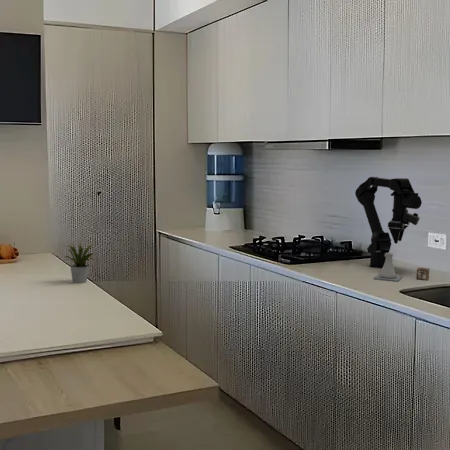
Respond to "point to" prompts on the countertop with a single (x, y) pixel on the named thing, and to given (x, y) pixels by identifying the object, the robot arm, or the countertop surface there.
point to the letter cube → (422, 273)
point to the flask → (388, 267)
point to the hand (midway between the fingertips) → (397, 242)
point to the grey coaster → (388, 278)
